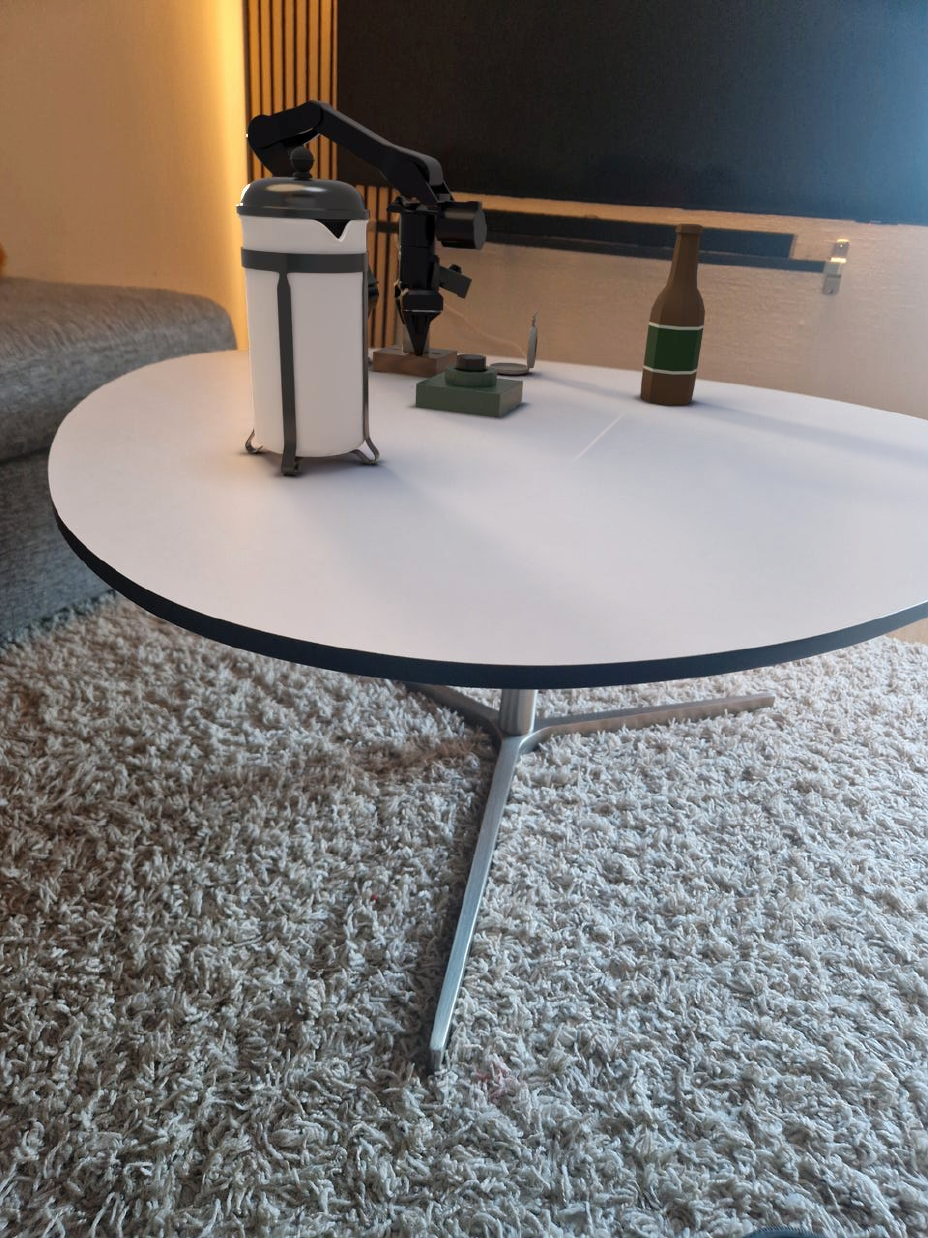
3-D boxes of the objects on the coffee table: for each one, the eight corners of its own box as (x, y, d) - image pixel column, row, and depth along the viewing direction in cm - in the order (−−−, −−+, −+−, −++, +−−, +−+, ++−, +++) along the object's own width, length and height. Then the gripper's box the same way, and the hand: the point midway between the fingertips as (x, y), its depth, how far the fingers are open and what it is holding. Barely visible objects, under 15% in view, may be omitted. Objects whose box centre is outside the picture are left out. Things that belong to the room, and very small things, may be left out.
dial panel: (373, 370, 144) (372, 350, 143) (396, 362, 152) (396, 343, 150) (436, 378, 141) (436, 357, 139) (456, 369, 148) (457, 349, 147)
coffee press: (402, 446, 103) (405, 153, 90) (350, 484, 89) (345, 144, 76) (265, 430, 107) (250, 147, 94) (194, 464, 93) (164, 138, 80)
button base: (415, 407, 122) (416, 369, 120) (443, 394, 130) (444, 358, 128) (498, 418, 118) (500, 379, 116) (521, 403, 126) (524, 367, 124)
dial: (431, 353, 143) (431, 325, 141) (403, 352, 143) (404, 324, 141) (427, 348, 147) (428, 321, 145) (400, 348, 146) (401, 320, 145)
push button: (452, 372, 121) (452, 356, 120) (462, 367, 124) (463, 352, 124) (479, 375, 120) (480, 359, 119) (489, 370, 123) (490, 355, 122)
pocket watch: (482, 369, 149) (485, 306, 145) (526, 367, 153) (530, 305, 148) (504, 378, 143) (508, 312, 138) (550, 376, 146) (555, 312, 142)
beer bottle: (688, 396, 136) (714, 224, 126) (695, 407, 129) (723, 226, 119) (637, 393, 137) (658, 221, 126) (641, 404, 130) (664, 223, 119)
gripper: (479, 252, 131) (474, 361, 138) (460, 244, 148) (457, 342, 154) (403, 249, 129) (402, 360, 136) (393, 241, 146) (392, 340, 153)
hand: (415, 350), depth 145 cm, fingers open, 9 cm apart
